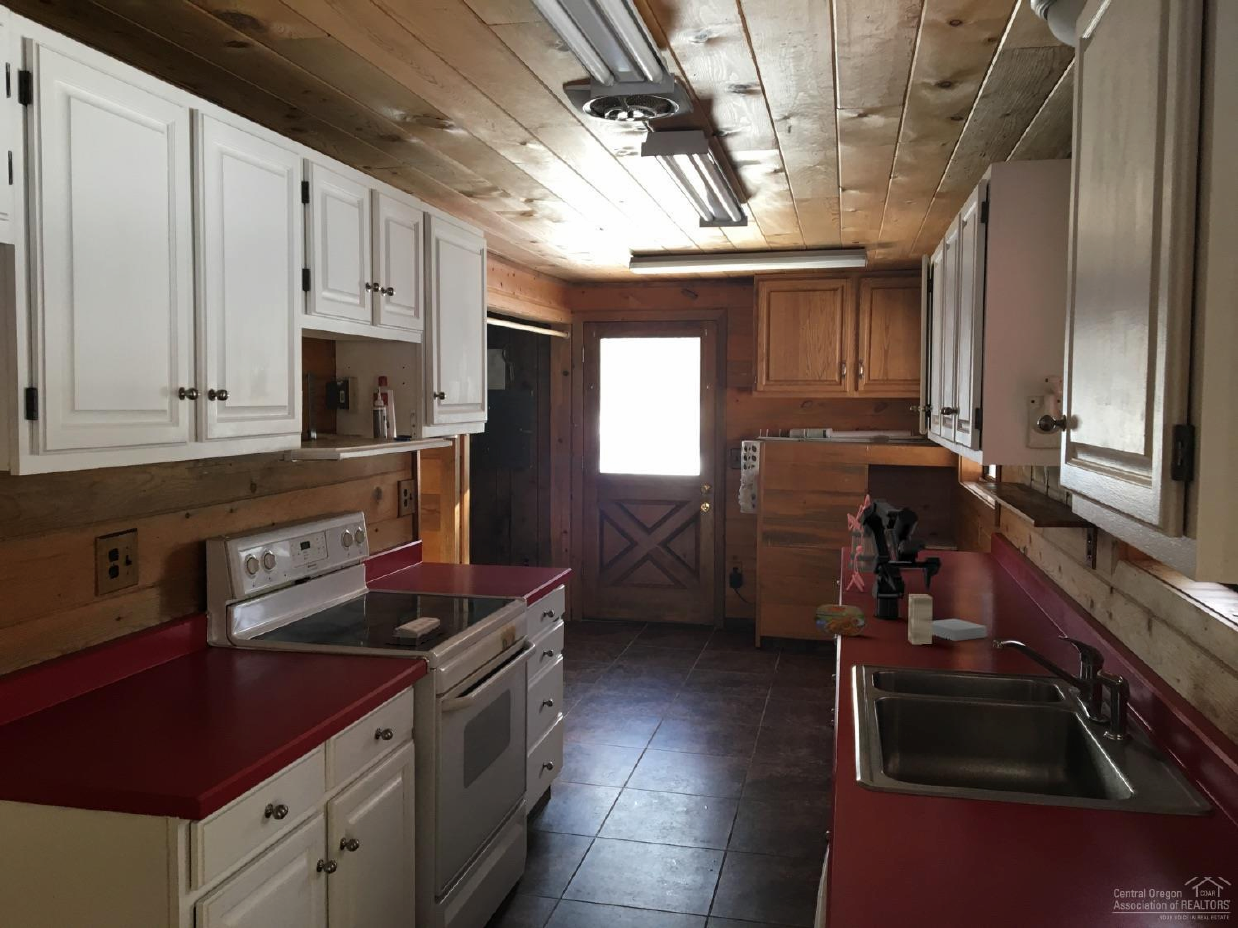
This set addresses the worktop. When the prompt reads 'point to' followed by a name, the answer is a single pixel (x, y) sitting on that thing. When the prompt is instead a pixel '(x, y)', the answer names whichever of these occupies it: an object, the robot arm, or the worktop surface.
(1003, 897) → the worktop surface
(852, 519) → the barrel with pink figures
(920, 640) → the birch block
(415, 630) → the packaged product
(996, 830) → the worktop surface
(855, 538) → the tankard
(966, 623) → the plinth
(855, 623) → the tin
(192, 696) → the worktop surface
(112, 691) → the worktop surface
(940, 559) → the robot arm
